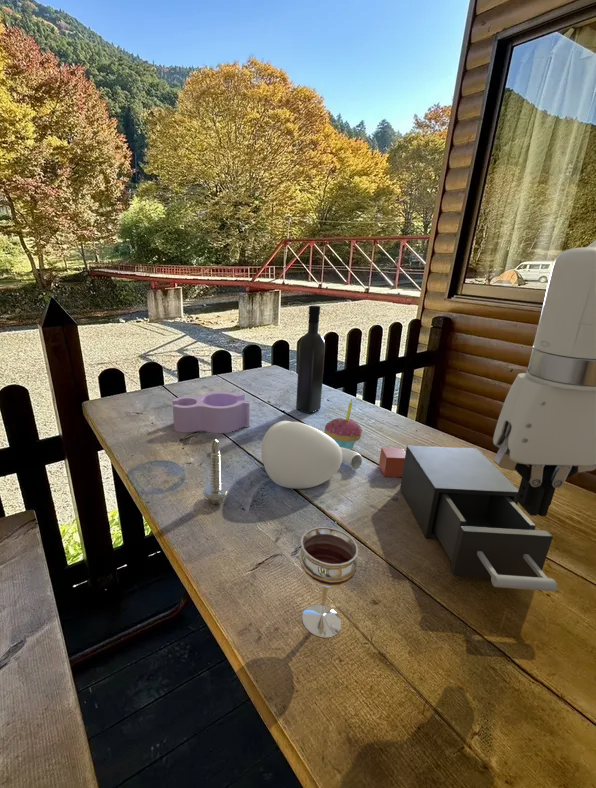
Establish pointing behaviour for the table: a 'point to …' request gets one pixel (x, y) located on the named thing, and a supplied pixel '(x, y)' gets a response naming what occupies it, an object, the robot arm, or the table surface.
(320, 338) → the wine bottle
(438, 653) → the table surface
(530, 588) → the drawer
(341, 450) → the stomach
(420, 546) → the table surface
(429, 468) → the cabinet
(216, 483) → the screw
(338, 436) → the cupcake
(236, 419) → the clip
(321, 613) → the wineglass
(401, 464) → the block
